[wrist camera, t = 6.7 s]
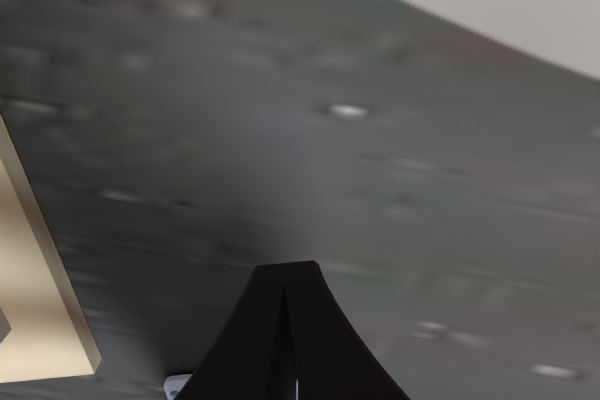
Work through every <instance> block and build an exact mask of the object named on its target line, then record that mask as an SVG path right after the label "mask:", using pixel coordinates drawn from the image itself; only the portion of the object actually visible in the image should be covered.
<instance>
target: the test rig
mask: <svg viewBox="0 0 600 400" xmlns="http://www.w3.org/2000/svg"><path fill="white" fill-rule="evenodd" d="M101 359H102V357H101V355H100V353H99V350H98V348H97V345H96V343H95V341H94V338H93V336H92V333H91V331H90V328H89V326H88V324H87V321H86V319H85V316H84V314H83V312H82V309H81V307H80V304H79V302H78V300H77V297H76V295H75V292H74V290H73V288H72V285H71V283H70V280H69V278H68V275H67V273H66V271H65V268H64V266H63V263H62V261H61V259H60V256H59V254H58V251H57V249H56V247H55V244H54V242H53V239H52V237H51V235H50V232H49V230H48V227H47V225H46V222H45V220H44V218H43V215H42V213H41V210H40V208H39V206H38V203H37V201H36V198H35V196H34V194H33V191H32V189H31V186H30V184H29V182H28V179H27V177H26V174H25V172H24V169H23V167H22V165H21V162H20V160H19V157H18V155H17V153H16V150H15V148H14V145H13V143H12V141H11V138H10V136H9V133H8V131H7V129H6V126H5V124H4V121H3V119H2V116H1V114H0V383H3V382H14V381H24V380H35V379H45V378H55V377H66V376H76V375H87V374H95V372H96V370H97V368H98V366H99V363H100V361H101Z"/></svg>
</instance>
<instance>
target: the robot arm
mask: <svg viewBox="0 0 600 400" xmlns="http://www.w3.org/2000/svg"><path fill="white" fill-rule="evenodd" d="M164 389H165V392H166V395H167V398H168V400H411V399H410V398H409V397H408V396H407V395H406V394H405V393H404V392H403V390H402V389H401V388H400V387H399V386H398V385H397V384H396V383H395V381H394V380H393V379H392V378H391V377H390V375H389V374H388V373H387V372H386V371H385V369H384V368H383V367H382V366H381V365H380V363H379V362H378V361H377V360H376V358H375V357H374V356H373V354H372V353H371V352H370V350H369V349H368V348H367V346H366V345H365V344H364V342H363V341H362V340H361V338H360V337H359V335H358V334H357V333H356V331H355V330H354V328H353V327H352V325H351V324H350V322H349V321H348V319H347V318H346V316H345V315H344V313H343V312H342V310H341V309H340V307H339V305H338V304H337V302H336V300H335V299H334V297H333V295H332V293H331V291H330V289H329V288H328V286H327V284H326V282H325V279H324V277H323V275H322V272H321V270H320V267H319V264H318V263H316V262H315V261H314V260H312V261H301V262H291V263H281V264H271V265H260V266H257V267H256V268H255V269H254V270H253V271H252V274H251V276H250V278H249V280H248V283H247V285H246V287H245V289H244V291H243V293H242V295H241V297H240V298H239V300H238V302H237V304H236V306H235V308H234V309H233V311H232V313H231V315H230V316H229V318H228V320H227V321H226V323H225V325H224V326H223V328H222V330H221V331H220V333H219V335H218V336H217V338H216V340H215V341H214V343H213V344H212V346H211V347H210V349H209V350H208V352H207V353H206V355H205V356H204V358H203V359H202V361H201V362H200V363H199V365H198V366H197V368H196V369H195V371H194V372H193V374H186V375H175V376H170V377H168V378H166V380H165V383H164Z"/></svg>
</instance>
